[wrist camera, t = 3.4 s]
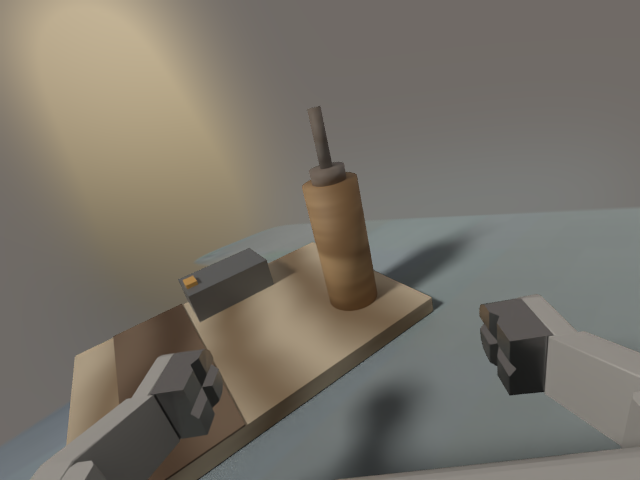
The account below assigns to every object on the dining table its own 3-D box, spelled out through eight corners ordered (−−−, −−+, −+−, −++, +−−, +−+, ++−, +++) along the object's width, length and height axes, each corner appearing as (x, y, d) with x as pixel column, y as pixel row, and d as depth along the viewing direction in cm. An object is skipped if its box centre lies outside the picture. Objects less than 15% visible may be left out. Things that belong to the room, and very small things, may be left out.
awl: (356, 277, 25) (321, 103, 20) (387, 293, 22) (356, 98, 17) (320, 298, 23) (274, 116, 18) (349, 317, 21) (303, 112, 16)
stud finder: (256, 270, 29) (248, 244, 28) (274, 284, 26) (265, 256, 25) (188, 303, 27) (176, 276, 26) (199, 322, 24) (186, 293, 23)
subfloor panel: (315, 251, 32) (312, 241, 32) (433, 310, 21) (431, 296, 21) (82, 366, 24) (74, 355, 23) (69, 570, 13) (53, 555, 12)
